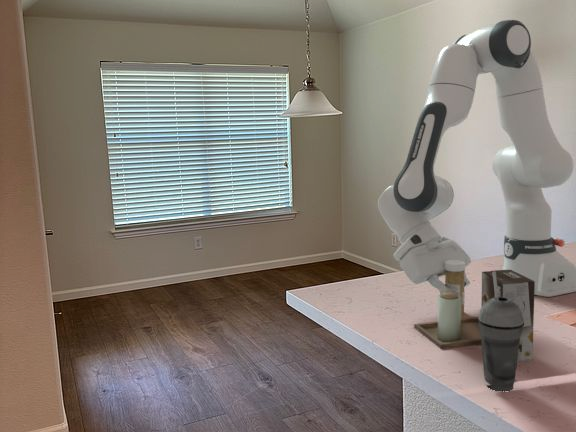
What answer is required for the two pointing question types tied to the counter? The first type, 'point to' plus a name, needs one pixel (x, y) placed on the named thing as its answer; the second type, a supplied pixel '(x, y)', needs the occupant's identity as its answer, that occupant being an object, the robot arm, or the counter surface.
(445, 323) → the jar
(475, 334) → the tray
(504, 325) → the beverage cup
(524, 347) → the coffee box
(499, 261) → the counter surface
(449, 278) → the sprinkles bottle
